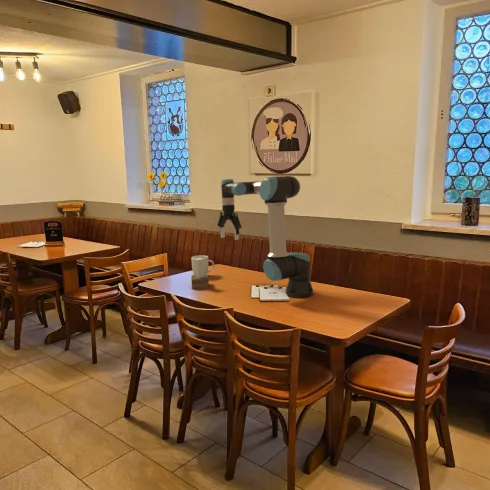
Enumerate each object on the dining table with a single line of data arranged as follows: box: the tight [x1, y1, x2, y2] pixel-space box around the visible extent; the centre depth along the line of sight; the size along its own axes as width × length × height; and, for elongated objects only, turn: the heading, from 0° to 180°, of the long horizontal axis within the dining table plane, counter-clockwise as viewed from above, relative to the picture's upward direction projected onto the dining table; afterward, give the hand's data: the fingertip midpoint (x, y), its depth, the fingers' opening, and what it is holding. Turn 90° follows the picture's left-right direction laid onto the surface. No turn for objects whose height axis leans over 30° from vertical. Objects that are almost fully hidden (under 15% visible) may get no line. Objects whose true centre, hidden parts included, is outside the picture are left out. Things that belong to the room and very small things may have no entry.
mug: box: [191, 254, 215, 274], centre depth 287 cm, size 15×11×13 cm
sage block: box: [193, 258, 206, 278], centre depth 260 cm, size 5×5×11 cm
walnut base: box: [191, 273, 210, 290], centre depth 262 cm, size 10×10×6 cm
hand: (229, 238), depth 270 cm, fingers open, 13 cm apart
